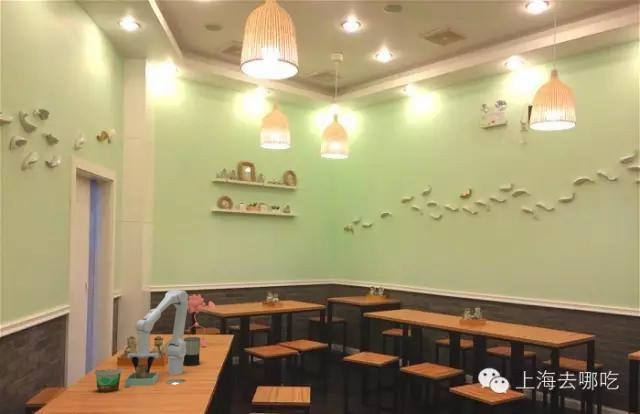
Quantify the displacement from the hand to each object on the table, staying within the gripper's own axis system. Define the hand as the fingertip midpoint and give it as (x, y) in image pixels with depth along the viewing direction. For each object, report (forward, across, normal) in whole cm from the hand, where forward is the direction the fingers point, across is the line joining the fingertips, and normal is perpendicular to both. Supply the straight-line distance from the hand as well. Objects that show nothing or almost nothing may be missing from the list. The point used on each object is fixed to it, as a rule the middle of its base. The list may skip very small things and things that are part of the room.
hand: (142, 372), depth 277 cm
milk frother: (+6, +15, +40) cm, 43 cm away
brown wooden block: (+5, 0, 0) cm, 5 cm away
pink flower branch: (+6, +13, +92) cm, 93 cm away
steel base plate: (+5, +16, 0) cm, 17 cm away
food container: (+6, -13, -13) cm, 19 cm away
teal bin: (+5, 0, 0) cm, 5 cm away
